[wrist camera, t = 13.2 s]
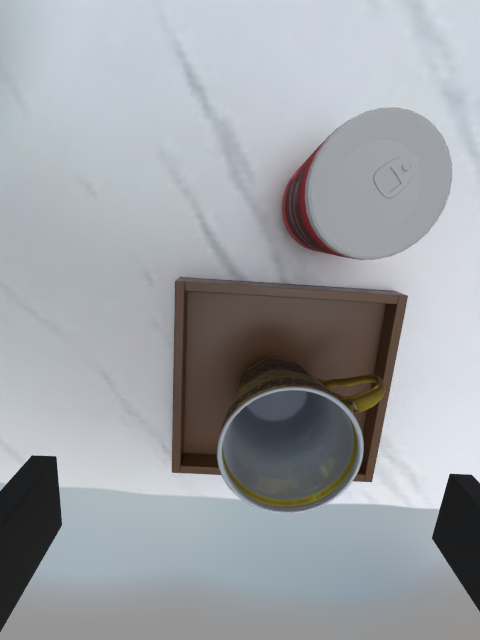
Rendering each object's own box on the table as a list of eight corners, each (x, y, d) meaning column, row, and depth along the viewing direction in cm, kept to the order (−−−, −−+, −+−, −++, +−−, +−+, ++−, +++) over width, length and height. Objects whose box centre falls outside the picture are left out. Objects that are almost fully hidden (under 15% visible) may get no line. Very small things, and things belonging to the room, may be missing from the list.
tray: (176, 456, 34) (171, 472, 32) (179, 277, 30) (175, 280, 27) (362, 465, 35) (372, 482, 33) (394, 290, 30) (408, 295, 28)
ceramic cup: (258, 450, 34) (267, 537, 24) (202, 374, 32) (186, 436, 22) (371, 384, 32) (429, 449, 22) (319, 300, 30) (358, 331, 20)
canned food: (390, 191, 28) (484, 165, 18) (332, 269, 30) (385, 288, 19) (320, 134, 27) (374, 69, 16) (262, 218, 29) (278, 208, 18)
